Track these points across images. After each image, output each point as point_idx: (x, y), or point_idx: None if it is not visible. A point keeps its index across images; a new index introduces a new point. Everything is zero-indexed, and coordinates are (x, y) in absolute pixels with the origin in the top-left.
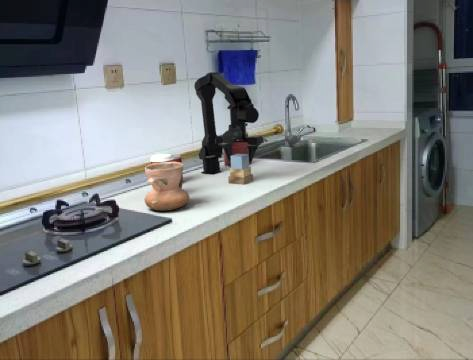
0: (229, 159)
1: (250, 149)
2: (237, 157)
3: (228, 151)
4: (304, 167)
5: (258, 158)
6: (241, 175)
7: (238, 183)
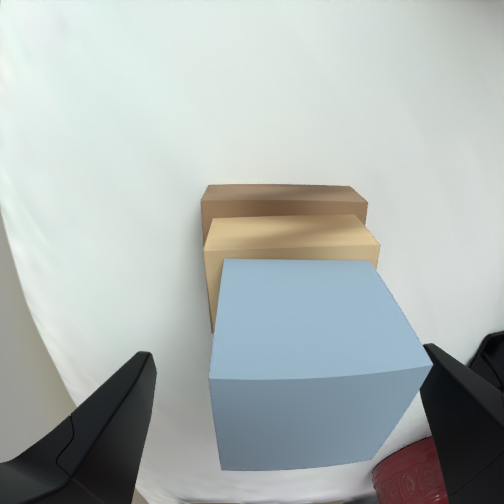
0: (434, 354)
1: (29, 471)
2: (298, 363)
3: (480, 428)
4: (167, 477)
5: (367, 494)
6: (234, 223)
7: (259, 185)
